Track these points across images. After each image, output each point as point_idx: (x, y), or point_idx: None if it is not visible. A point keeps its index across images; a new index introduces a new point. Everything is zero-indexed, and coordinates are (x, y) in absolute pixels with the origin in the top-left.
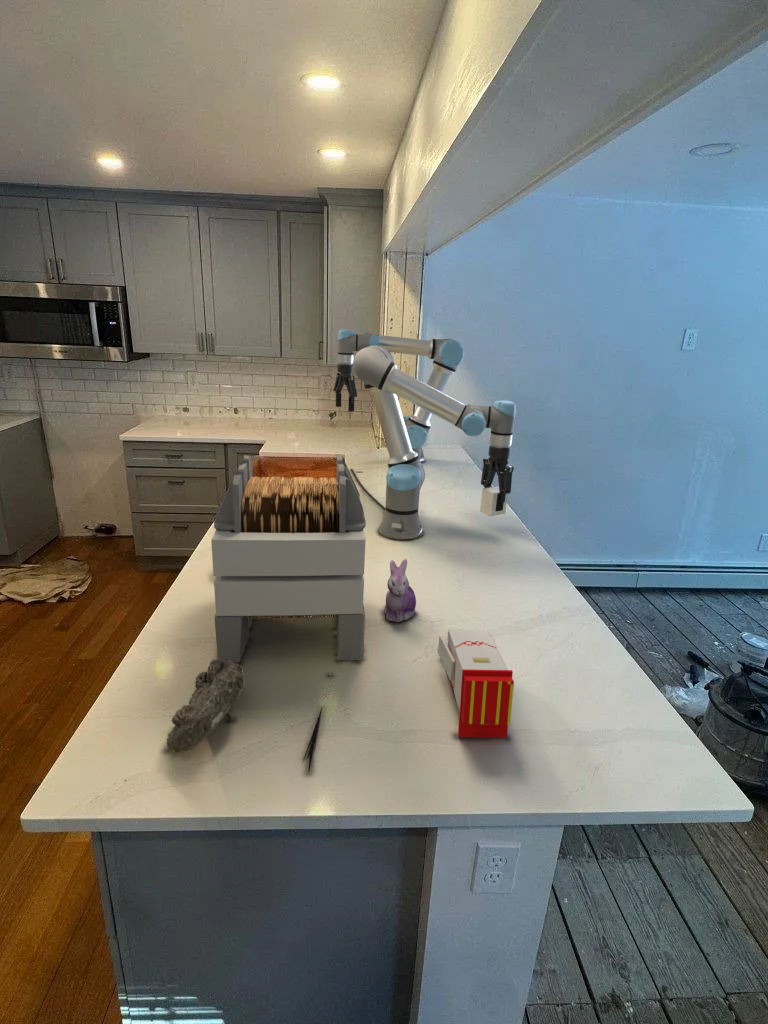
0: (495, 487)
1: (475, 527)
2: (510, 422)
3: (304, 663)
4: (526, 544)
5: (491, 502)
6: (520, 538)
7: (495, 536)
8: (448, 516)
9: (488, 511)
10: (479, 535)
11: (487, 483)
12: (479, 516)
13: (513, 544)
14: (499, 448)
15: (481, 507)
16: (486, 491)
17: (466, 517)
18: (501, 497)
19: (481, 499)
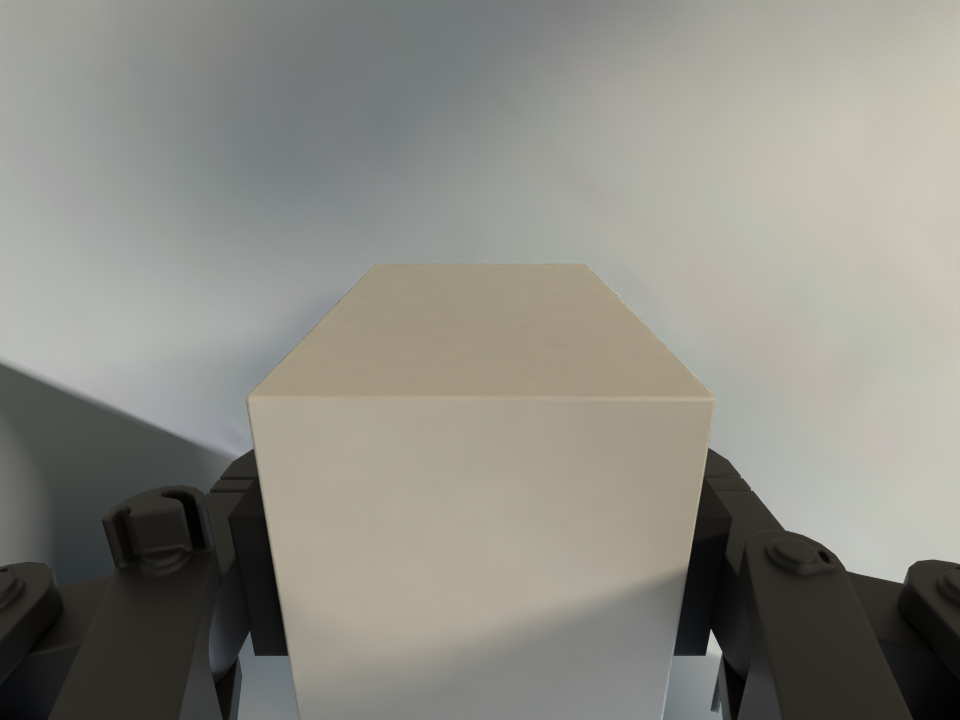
0: (598, 706)
1: (556, 196)
2: None
3: None
4: (49, 341)
5: (340, 315)
6: (181, 387)
7: (289, 218)
8: (942, 138)
9: (417, 274)
10: (366, 80)
11: (762, 651)
12: (744, 419)
13: (72, 237)
14: None
15: (574, 277)
16: (528, 383)
17: (800, 295)
18: (220, 509)
19: (623, 310)
